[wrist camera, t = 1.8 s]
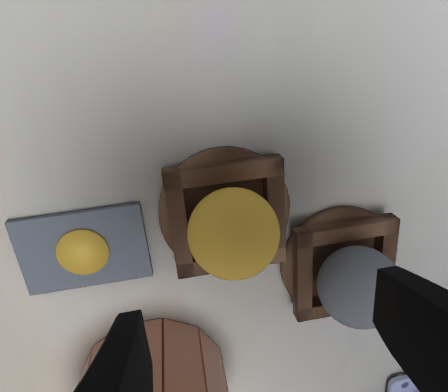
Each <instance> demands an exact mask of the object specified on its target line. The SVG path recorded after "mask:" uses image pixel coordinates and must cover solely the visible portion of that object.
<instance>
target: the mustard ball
mask: <svg viewBox="0 0 448 392" xmlns="http://www.w3.org/2000/svg"><path fill="white" fill-rule="evenodd" d="M187 239H188V244H189V248H190V251H191V253H192V255H193V257H194V259H195V260H196V262H197V263H198V264H199V265H200V266H201V267H202V268H203V269H204V270H205V271H206V272H208V273H209V274H211V275H213V276H215V277H217V278H220V279H224V280H243V279H247V278H250V277H253V276H255V275H257V274H258V273H260V272H261V271H262V270H264V269H265V268H266V267H267V266H268V265H269V263H270V262H271V261H272V259H273V258H274V256H275V254H276V252H277V249H278V246H279V241H280V227H279V223H278V219H277V216H276V214H275V212H274V210H273V209H272V207H271V206H270V205H269V203H268V202H267V201H266V200H265V199H264V198H263V197H261V196H260V195H258V194H257V193H255V192H253V191H251V190H248V189H244V188H238V187H229V188H223V189H219V190H216V191H214V192H212V193H210V194H209V195H207V196H206V197H205V198H203V199H202V200H201V201H200V202H199V203H198V205H197V206H196V207H195V209H194V210H193V212H192V214H191V217H190V219H189V223H188V229H187Z"/></svg>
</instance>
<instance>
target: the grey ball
mask: <svg viewBox="0 0 448 392" xmlns="http://www.w3.org/2000/svg"><path fill="white" fill-rule="evenodd" d="M391 266H395V265H394V263H393V262H392V261H391V260H390V259H389V258H388V257H386V256H385V255H384V254H382V253H381V252H379V251H377V250H375V249H373V248H369V247H366V246H348V247H344V248H341V249H339V250H337V251H335V252H333V253H332V254H331V255H329V256H328V257H327V258H326V260H325V261H324V262H323V264H322V265H321V267H320V270H319V272H318V276H317V291H318V296H319V299H320V301H321V303H322V305H323V307H324V308H325V310H326V311H327V312H328V313H329V314H330V315H331V316H332V317H333V318H334V319H335V320H337V321H338V322H340V323H341V324H343V325H346V326H348V327H351V328H356V329H372V328H376V327H375V325H374V323H373V310H374V299H375V289H376V278H377V269H379V268H385V267H391Z"/></svg>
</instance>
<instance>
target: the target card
mask: <svg viewBox="0 0 448 392" xmlns="http://www.w3.org/2000/svg"><path fill="white" fill-rule="evenodd" d="M5 226H6V229H7V232H8V235H9V237H10V240H11V243H12V246H13V249H14V252H15V254H16V257H17V260H18V263H19V266H20V269H21V271H22V274H23V277H24V280H25V283H26V285H27V288H28V291H29V294H30V296H31V295H37V294H44V293H50V292H56V291H62V290H68V289H74V288H81V287H87V286H93V285H99V284H105V283H112V282H118V281H124V280H130V279H136V278H143V277H149V276H153V270H152V265H151V260H150V255H149V249H148V244H147V239H146V233H145V228H144V223H143V218H142V212H141V207H140V202H137V203H129V204H122V205H115V206H108V207H100V208H93V209H86V210H79V211H71V212H64V213H57V214H50V215H43V216H35V217H28V218H21V219H14V220H7V221H6V222H5Z"/></svg>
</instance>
